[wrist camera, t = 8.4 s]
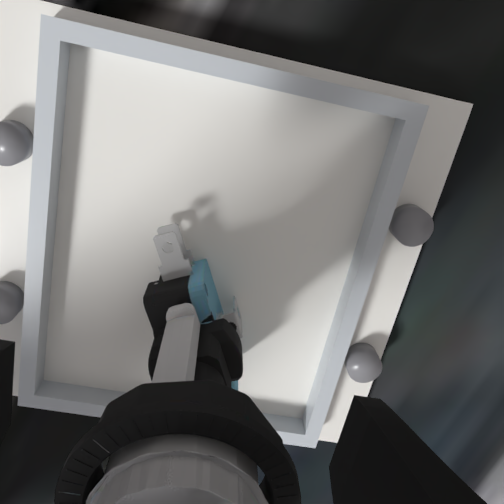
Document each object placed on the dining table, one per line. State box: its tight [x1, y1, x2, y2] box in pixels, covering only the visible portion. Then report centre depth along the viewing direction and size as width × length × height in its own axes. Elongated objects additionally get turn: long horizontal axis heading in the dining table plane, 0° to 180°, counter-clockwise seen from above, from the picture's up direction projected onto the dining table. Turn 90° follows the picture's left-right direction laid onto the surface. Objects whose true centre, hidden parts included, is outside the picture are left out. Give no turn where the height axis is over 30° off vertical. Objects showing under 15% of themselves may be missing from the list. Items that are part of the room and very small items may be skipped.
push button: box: [54, 223, 301, 504], centre depth 14 cm, size 7×5×10 cm
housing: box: [0, 0, 473, 448], centre depth 18 cm, size 16×15×2 cm
